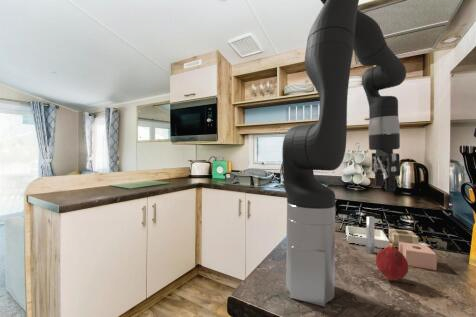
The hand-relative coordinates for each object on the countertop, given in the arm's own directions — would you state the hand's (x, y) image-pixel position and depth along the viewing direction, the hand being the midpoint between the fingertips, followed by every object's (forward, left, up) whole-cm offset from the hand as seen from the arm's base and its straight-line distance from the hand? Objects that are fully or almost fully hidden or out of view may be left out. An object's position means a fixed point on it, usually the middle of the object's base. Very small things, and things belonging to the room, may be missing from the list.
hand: (384, 188), depth 64 cm
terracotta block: (-6, -6, -18) cm, 20 cm away
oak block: (+6, -6, -18) cm, 20 cm away
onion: (-19, +2, -18) cm, 26 cm away
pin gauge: (-4, +4, -18) cm, 19 cm away
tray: (+6, +4, -18) cm, 19 cm away
